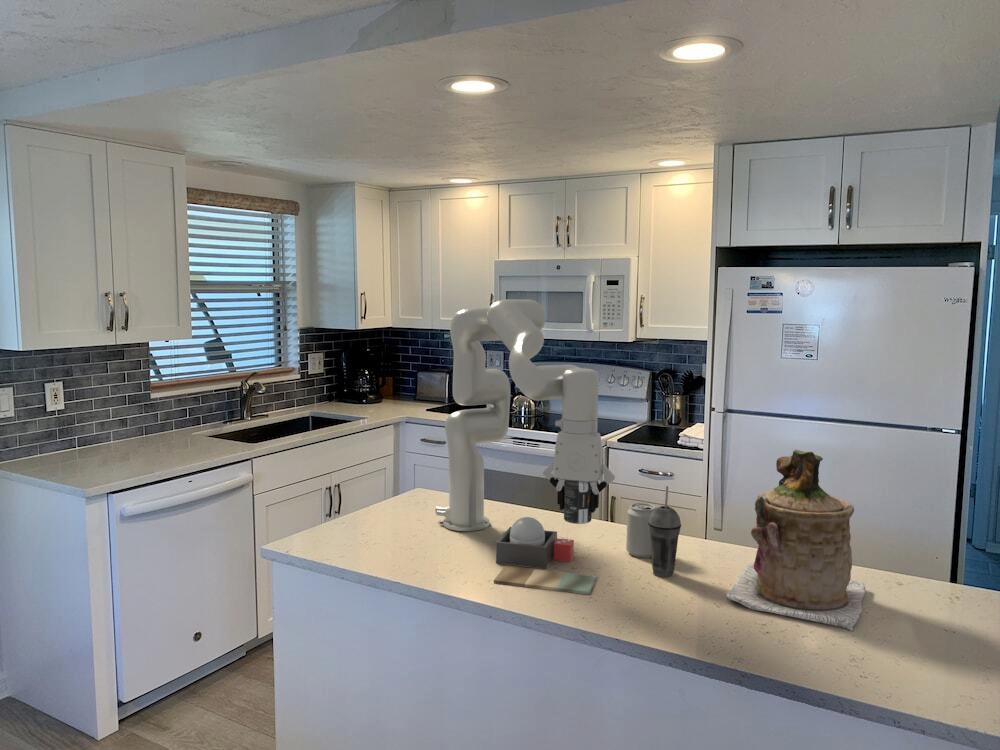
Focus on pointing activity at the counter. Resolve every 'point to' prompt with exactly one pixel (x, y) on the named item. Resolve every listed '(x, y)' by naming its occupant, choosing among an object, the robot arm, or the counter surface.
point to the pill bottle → (577, 502)
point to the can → (639, 529)
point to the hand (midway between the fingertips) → (577, 508)
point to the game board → (546, 579)
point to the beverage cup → (664, 539)
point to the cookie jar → (802, 550)
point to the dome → (527, 532)
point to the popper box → (534, 551)
